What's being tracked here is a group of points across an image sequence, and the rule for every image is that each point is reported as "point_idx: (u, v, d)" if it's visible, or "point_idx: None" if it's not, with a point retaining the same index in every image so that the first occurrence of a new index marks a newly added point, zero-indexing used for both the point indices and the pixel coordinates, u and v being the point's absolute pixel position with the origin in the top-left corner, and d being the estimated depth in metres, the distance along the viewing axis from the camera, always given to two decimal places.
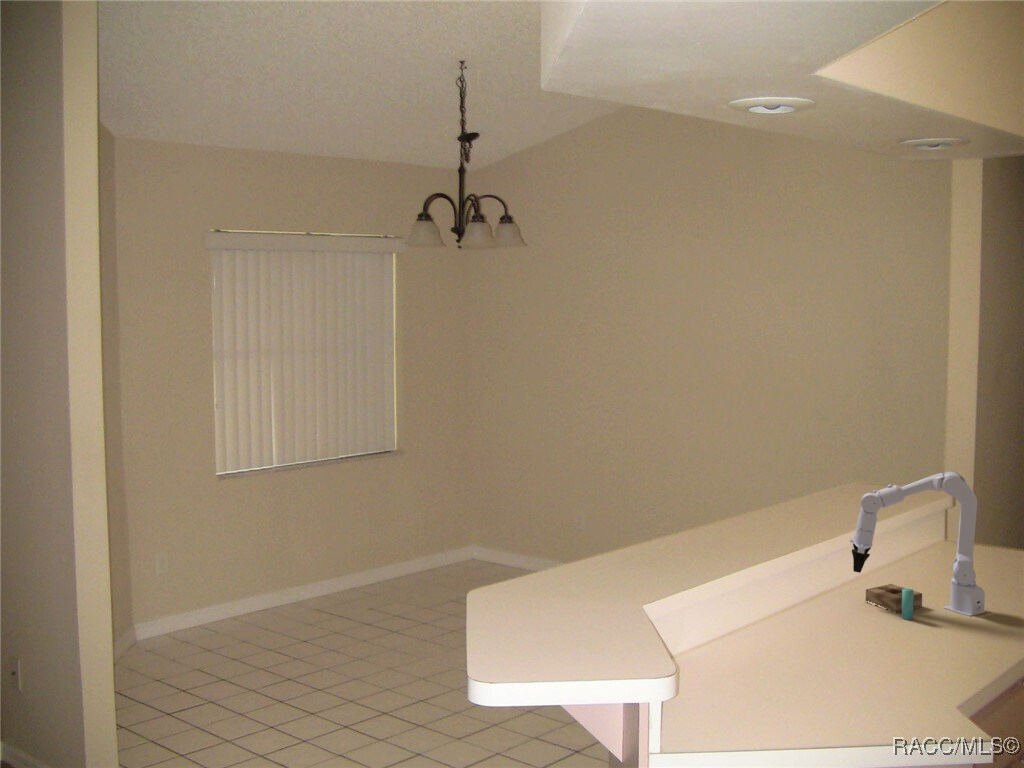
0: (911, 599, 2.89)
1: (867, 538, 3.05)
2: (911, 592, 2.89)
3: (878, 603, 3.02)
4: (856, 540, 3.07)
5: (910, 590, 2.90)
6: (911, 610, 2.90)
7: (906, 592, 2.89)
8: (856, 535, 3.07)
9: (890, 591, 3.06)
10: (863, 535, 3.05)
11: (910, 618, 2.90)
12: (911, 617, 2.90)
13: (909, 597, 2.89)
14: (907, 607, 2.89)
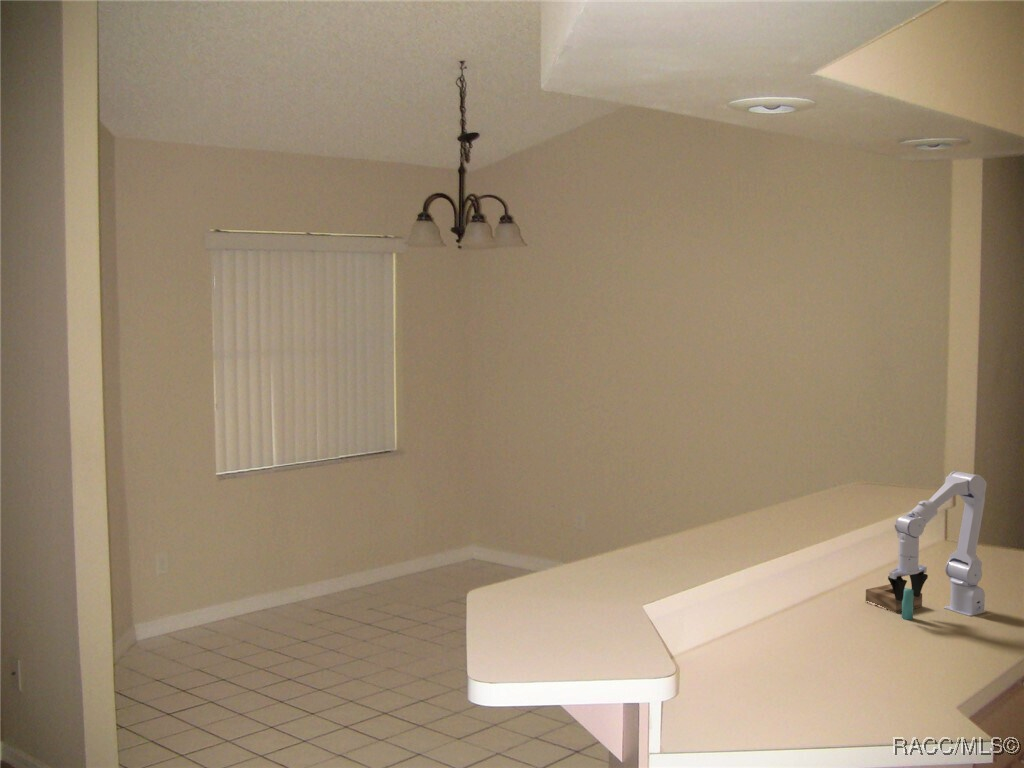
0: (911, 599, 2.89)
1: (906, 564, 2.87)
2: (911, 592, 2.89)
3: (878, 603, 3.02)
4: (898, 566, 2.91)
5: (910, 590, 2.90)
6: (911, 610, 2.90)
7: (906, 592, 2.89)
8: (898, 561, 2.91)
9: (890, 591, 3.06)
10: (901, 560, 2.88)
11: (910, 618, 2.90)
12: (911, 617, 2.90)
13: (909, 597, 2.89)
14: (907, 607, 2.89)
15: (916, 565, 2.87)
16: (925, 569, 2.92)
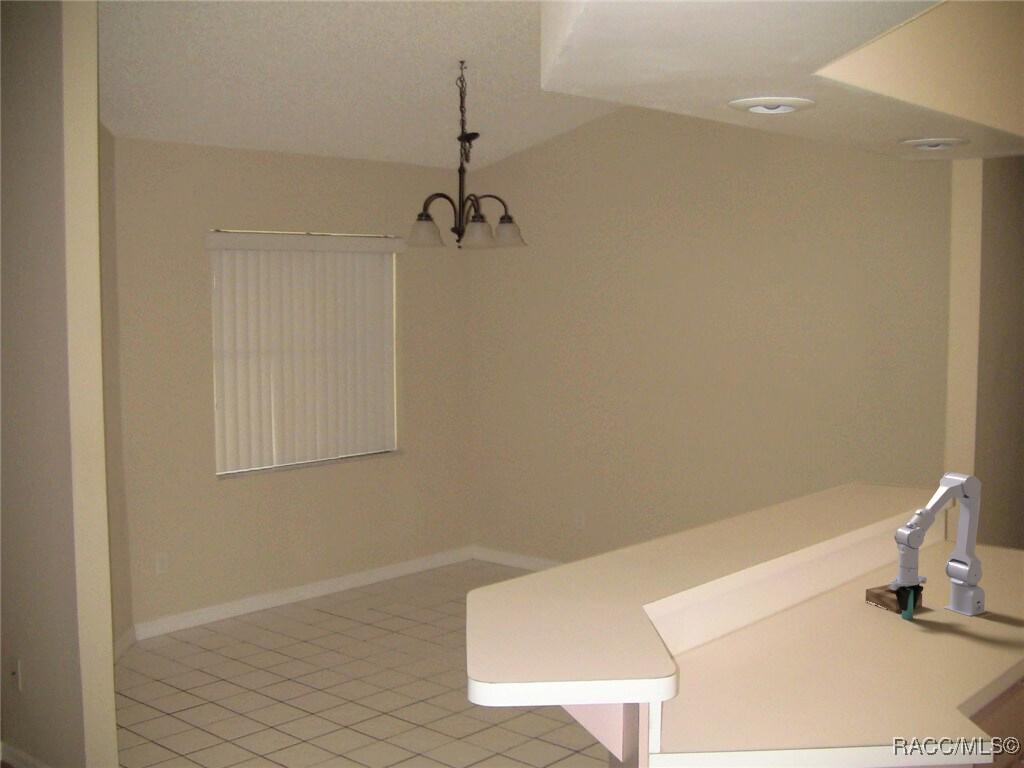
0: (911, 599, 2.89)
1: (906, 575, 2.88)
2: (911, 592, 2.89)
3: (878, 603, 3.02)
4: (898, 577, 2.91)
5: (910, 590, 2.90)
6: (911, 610, 2.90)
7: None
8: (898, 572, 2.91)
9: (890, 591, 3.06)
10: (901, 572, 2.89)
11: (910, 618, 2.90)
12: (911, 617, 2.90)
13: (909, 597, 2.89)
14: None
15: (916, 576, 2.88)
16: (925, 580, 2.93)
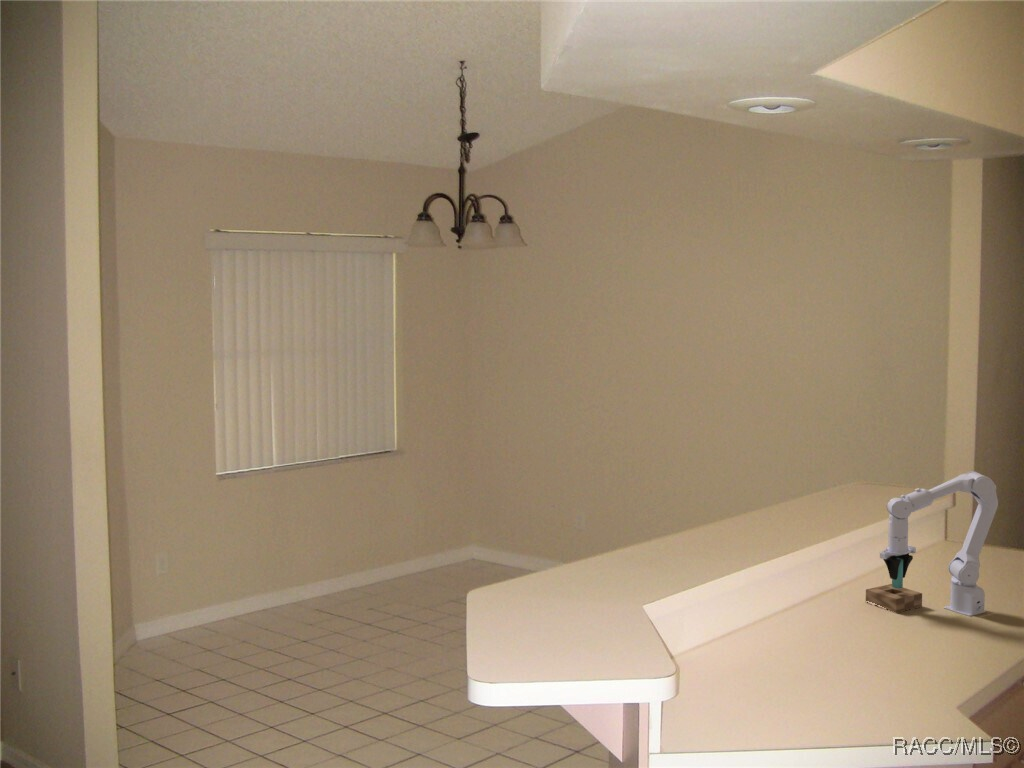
0: (901, 568, 2.98)
1: (896, 545, 2.97)
2: (901, 561, 2.98)
3: (878, 603, 3.02)
4: (888, 547, 3.00)
5: (900, 559, 2.99)
6: (901, 579, 2.99)
7: None
8: (888, 542, 3.00)
9: (890, 591, 3.06)
10: (891, 541, 2.98)
11: (900, 586, 2.99)
12: (901, 585, 2.99)
13: (899, 566, 2.98)
14: None
15: (906, 546, 2.97)
16: (914, 550, 3.02)
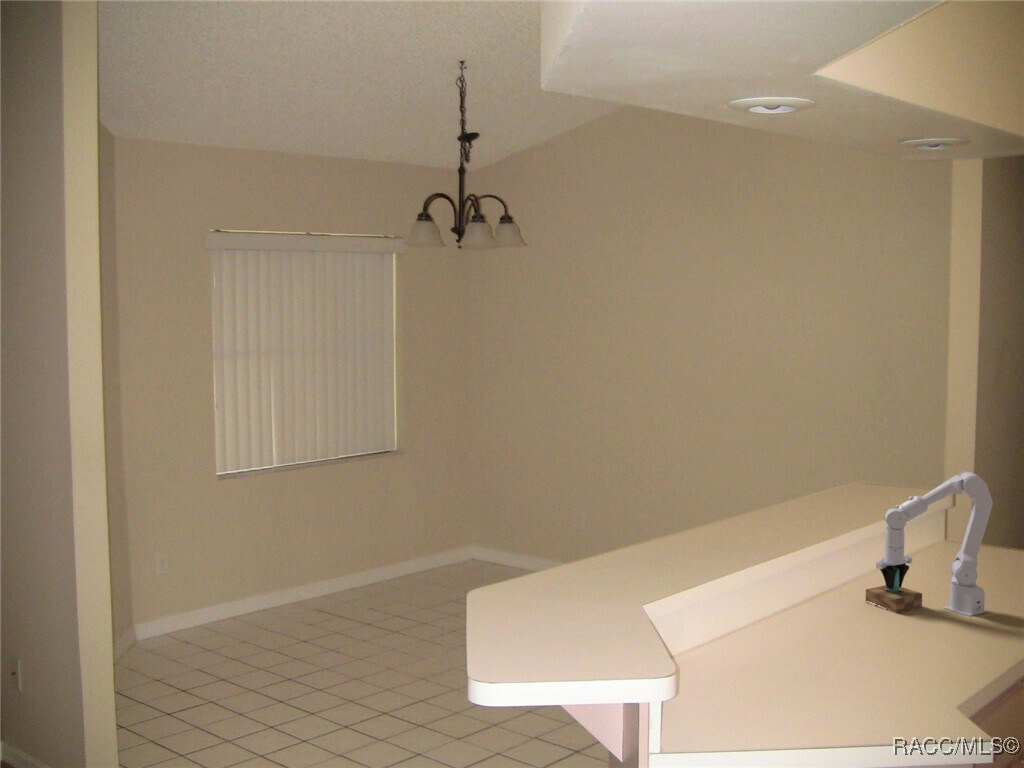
0: (897, 578, 3.02)
1: (892, 555, 3.00)
2: (897, 571, 3.02)
3: (878, 603, 3.02)
4: (885, 557, 3.04)
5: (896, 569, 3.02)
6: (897, 588, 3.02)
7: None
8: (885, 552, 3.04)
9: None
10: (888, 551, 3.02)
11: None
12: None
13: (895, 576, 3.02)
14: None
15: (902, 556, 3.00)
16: (911, 560, 3.05)
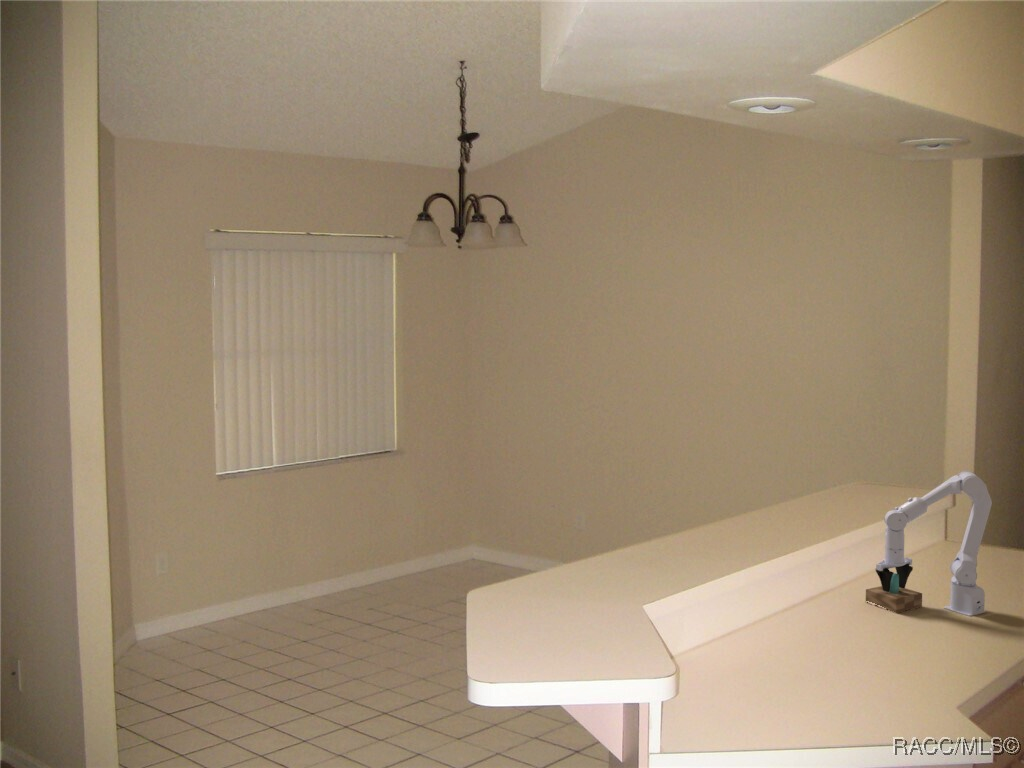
0: (897, 583, 3.02)
1: (892, 557, 3.01)
2: (896, 577, 3.02)
3: (878, 603, 3.02)
4: (885, 559, 3.04)
5: (896, 575, 3.03)
6: None
7: (892, 576, 3.02)
8: (885, 554, 3.04)
9: None
10: (888, 553, 3.02)
11: None
12: None
13: (895, 581, 3.02)
14: (893, 591, 3.02)
15: (902, 557, 3.00)
16: (911, 561, 3.05)
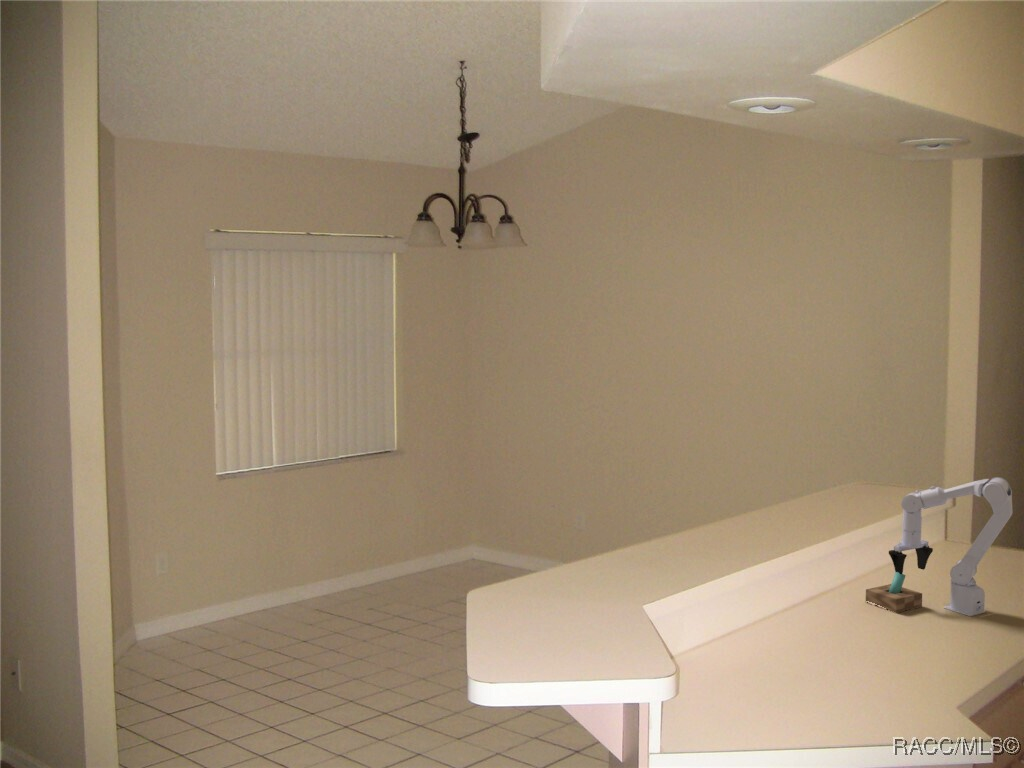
0: (901, 582, 3.03)
1: (909, 539, 3.04)
2: (903, 575, 3.03)
3: (878, 603, 3.02)
4: (902, 541, 3.07)
5: None
6: (898, 592, 3.03)
7: (899, 573, 3.04)
8: (902, 536, 3.07)
9: None
10: (905, 535, 3.05)
11: None
12: None
13: (900, 579, 3.03)
14: (896, 587, 3.03)
15: (919, 539, 3.04)
16: (927, 544, 3.09)
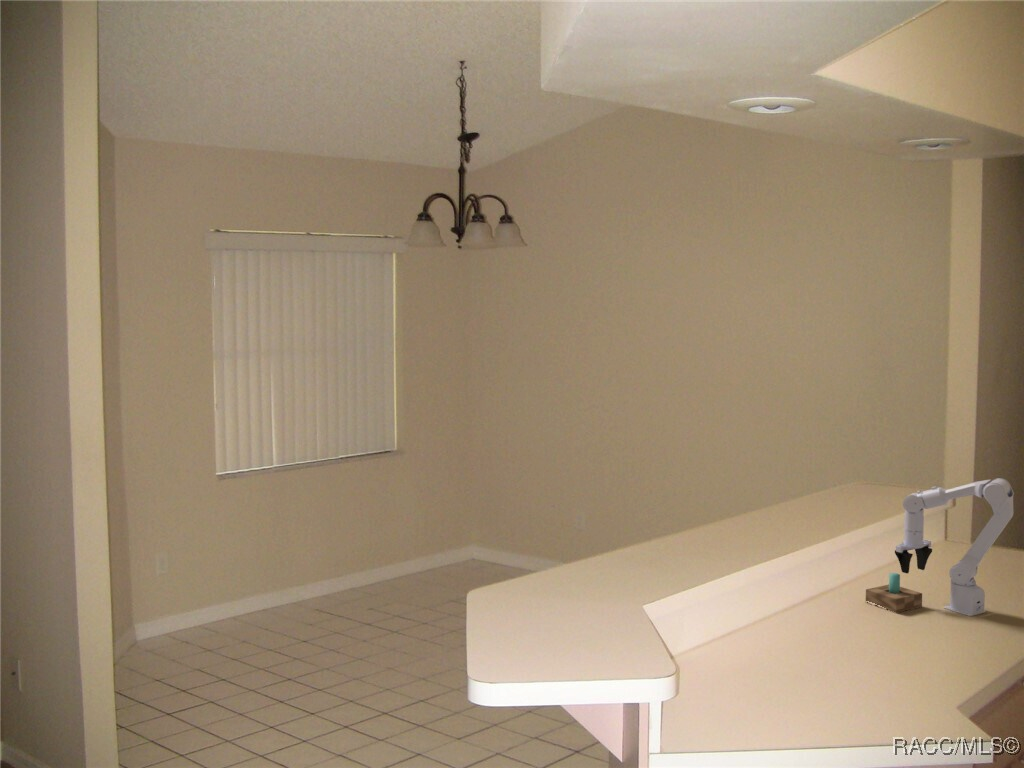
0: (897, 583, 3.02)
1: (911, 539, 3.04)
2: (897, 576, 3.02)
3: (878, 603, 3.02)
4: (904, 541, 3.08)
5: (897, 575, 3.03)
6: None
7: (893, 576, 3.02)
8: None
9: None
10: (907, 535, 3.05)
11: None
12: None
13: (896, 581, 3.02)
14: (894, 590, 3.02)
15: (921, 539, 3.04)
16: (930, 543, 3.09)
